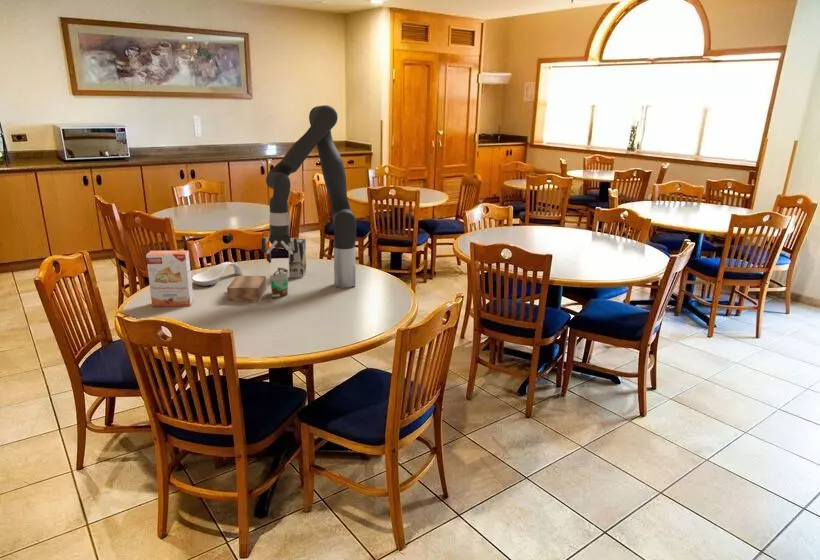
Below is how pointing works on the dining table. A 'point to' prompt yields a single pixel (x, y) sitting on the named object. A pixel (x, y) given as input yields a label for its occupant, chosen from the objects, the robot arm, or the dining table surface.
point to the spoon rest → (214, 274)
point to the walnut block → (246, 288)
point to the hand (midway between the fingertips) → (280, 262)
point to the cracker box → (169, 278)
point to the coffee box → (298, 260)
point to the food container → (279, 283)
